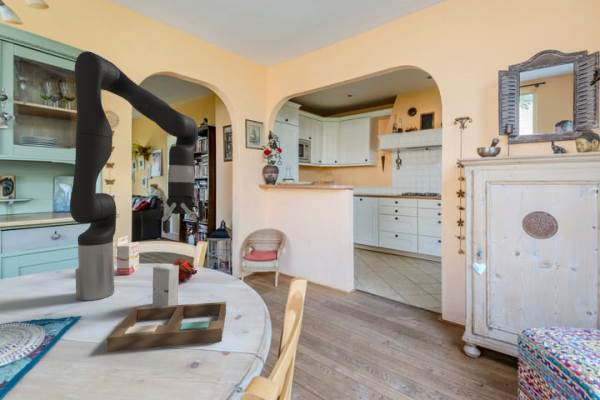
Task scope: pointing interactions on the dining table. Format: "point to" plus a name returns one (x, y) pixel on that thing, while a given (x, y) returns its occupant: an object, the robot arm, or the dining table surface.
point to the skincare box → (165, 285)
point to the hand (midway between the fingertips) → (181, 233)
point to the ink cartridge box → (127, 256)
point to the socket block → (168, 327)
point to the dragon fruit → (185, 269)
